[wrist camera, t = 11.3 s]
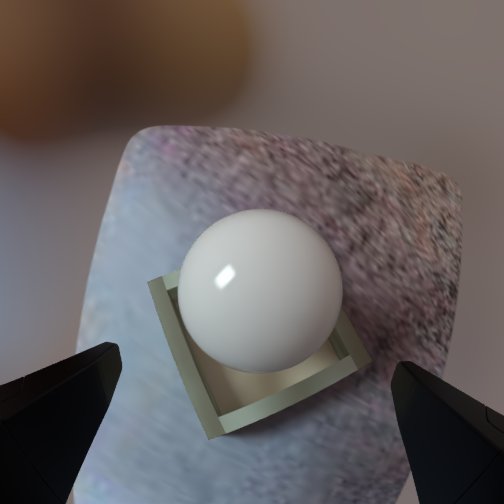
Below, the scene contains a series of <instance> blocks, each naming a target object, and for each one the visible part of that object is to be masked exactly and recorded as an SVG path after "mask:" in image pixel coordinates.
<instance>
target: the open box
mask: <svg viewBox="0 0 504 504" xmlns="http://www.w3.org/2000/svg"><path fill="white" fill-rule="evenodd" d="M180 270H181V269H179V270H176V271H174V272H171V273H169V274H166V275H164V276H161V277H159V278H156V279H154V280H151V281H149V282H147V283H148V286H149V289H150V292H151V296H152V299H153V302H154V305H155V308H156V311H157V314H158V317H159V320H160V322H161V325H162V328H163V331H164V334H165V337H166V339H167V342H168V345H169V347H170V350H171V353H172V355H173V358H174V361H175V363H176V366H177V368H178V371H179V373H180V376H181V378H182V381H183V383H184V386H185V388H186V390H187V393H188V395H189V397H190V400H191V402H192V404H193V407H194V409H195V411H196V413H197V416H198V418H199V420H200V422H201V425H202V427H203V429H204V431H205V433H206V435H207V437H208V439H209V440H210V439H213V438H215V437H218V436H221V435H224V434H226V433H229V432H231V431H234V430H236V429H239V428H241V427H244V426H246V425H249V424H251V423H253V422H256V421H258V420H260V419H263V418H265V417H267V416H270V415H272V414H274V413H276V412H278V411H281V410H283V409H285V408H287V407H289V406H291V405H293V404H295V403H297V402H299V401H301V400H303V399H305V398H307V397H309V396H311V395H313V394H315V393H317V392H319V391H321V390H323V389H325V388H326V387H328V386H330V385H332V384H334V383H336V382H337V381H339V380H341V379H343V378H344V377H346V376H348V375H350V374H351V373H353V372H355V371H357V370H358V369H360V368H362V367H363V366H365V365H367V364H368V363H370V362H371V361H372V360H371V358H370V356H369V355H368V353H367V351H366V349H365V347H364V345H363V344H362V342H361V340H360V338H359V336H358V334H357V333H356V331H355V329H354V327H353V325H352V324H351V322H350V320H349V318H348V317H347V315H346V313H345V311H344V310H343V308H342V306H341V311H340V314H339V318H338V320H337V323H336V325H335V327H334V329H333V331H332V333H331V335H330V336H329V338H328V339H327V341H326V342H325V343H324V344H323V346H322V347H321V348H320V349H319V350H318V351H317V352H316V353H314V354H313V355H312V356H311V357H310V358H308V359H307V360H305V361H303V362H302V363H300V364H298V365H296V366H294V367H292V368H289V369H286V370H283V371H279V372H274V373H266V374H254V373H246V372H241V371H237V370H234V369H231V368H229V367H226V366H224V365H222V364H220V363H218V362H217V361H215V360H214V359H212V358H211V357H209V356H208V355H207V354H206V353H205V352H204V351H202V350H201V349H200V347H199V346H198V345H197V344H196V343H195V342H194V340H193V339H192V337H191V336H190V334H189V333H188V331H187V329H186V327H185V325H184V322H183V320H182V317H181V313H180V309H179V304H178V279H179V274H180Z"/></svg>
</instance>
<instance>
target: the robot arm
mask: <svg viewBox="0 0 504 504" xmlns="http://www.w3.org/2000/svg"><path fill="white" fill-rule="evenodd" d="M121 371H122V361H121V356H120V351H119V347H118V345H117V344H116V343H111V342H104V343H102V344H99V345H97V346H95V347H92V348H90V349H88V350H85V351H83V352H81V353H78V354H76V355H74V356H71V357H69V358H67V359H65V360H62V361H60V362H57V363H55V364H52V365H50V366H48V367H45V368H43V369H40V370H38V371H36V372H33V373H31V374H28V375H26V376H25V377H21V378H19V379H16V380H14V381H11V382H8V383H6V384H3V385H0V504H66V502H67V499H68V496H69V494H70V492H71V490H72V487H73V485H74V482H75V480H76V478H77V475H78V473H79V471H80V468H81V466H82V464H83V462H84V459H85V457H86V455H87V453H88V450H89V448H90V446H91V444H92V442H93V440H94V437H95V435H96V433H97V431H98V429H99V427H100V424H101V422H102V420H103V418H104V416H105V414H106V412H107V410H108V407H109V405H110V402H111V400H112V397H113V394H114V391H115V388H116V385H117V382H118V379H119V377H120V374H121ZM391 391H392V396H393V401H394V406H395V411H396V417H397V422H398V426H399V430H400V433H401V436H402V440H403V443H404V446H405V450H406V453H407V457H408V460H409V464H410V468H411V472H412V475H413V479H414V483H415V486H416V491H417V495H418V499H419V503H420V504H504V416H503V415H501V414H500V413H498V412H496V411H494V410H493V409H491V408H489V407H487V406H485V405H484V404H482V403H480V402H479V401H477V400H475V399H474V398H472V397H470V396H469V395H467V394H465V393H464V392H462V391H460V390H458V389H457V388H455V387H453V386H452V385H450V384H448V383H447V382H445V381H443V380H442V379H440V378H438V377H437V376H435V375H433V374H432V373H430V372H428V371H426V370H425V369H423V368H421V367H420V366H418V365H416V364H415V363H413V362H411V361H401V362H399V363H398V364H397V366H396V369H395V372H394V375H393V378H392V381H391Z"/></svg>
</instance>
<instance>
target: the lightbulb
mask: <svg viewBox="0 0 504 504" xmlns="http://www.w3.org/2000/svg"><path fill="white" fill-rule="evenodd" d="M342 299H343V283H342V276H341V271H340V268H339V265H338V262H337V259H336V257H335V255H334V253H333V251H332V249H331V248H330V246H329V245H328V243H327V242H326V241H325V239H324V238H323V237H322V236H321V235H320V234H319V233H318V232H317V231H316V230H315V229H314V228H313V227H312V226H310V225H309V224H307V223H306V222H304V221H303V220H301V219H299V218H297V217H295V216H293V215H291V214H288V213H285V212H281V211H277V210H271V209H250V210H244V211H239V212H236V213H233V214H230V215H228V216H226V217H223V218H221V219H220V220H218V221H216V222H215V223H213V224H212V225H210V226H209V227H208V228H207V229H205V230H204V231H203V232H202V233H201V234H200V235H199V236H198V238H197V239H196V240H195V241H194V243H193V244H192V245H191V247H190V249H189V250H188V252H187V254H186V256H185V258H184V261H183V263H182V266H181V270H180V274H179V279H178V304H179V309H180V313H181V317H182V320H183V322H184V325H185V327H186V329H187V331H188V333H189V334H190V336H191V337H192V339H193V340H194V342H195V343H196V344H197V345H198V346H199V347H200V349H201V350H202V351H204V352H205V353H206V354H207V355H208V356H209V357H211V358H212V359H214V360H215V361H217V362H218V363H220V364H222V365H224V366H226V367H229V368H231V369H234V370H237V371H241V372H246V373H254V374H266V373H274V372H279V371H283V370H286V369H289V368H292V367H294V366H296V365H298V364H300V363H302V362H303V361H305V360H307V359H308V358H310V357H311V356H312V355H313V354H314V353H316V352H317V351H318V350H319V349H320V348H321V347H322V346H323V344H324V343H325V342H326V341H327V339H328V338H329V336H330V335H331V333H332V331H333V329H334V327H335V325H336V323H337V320H338V318H339V314H340V311H341V306H342Z"/></svg>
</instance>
